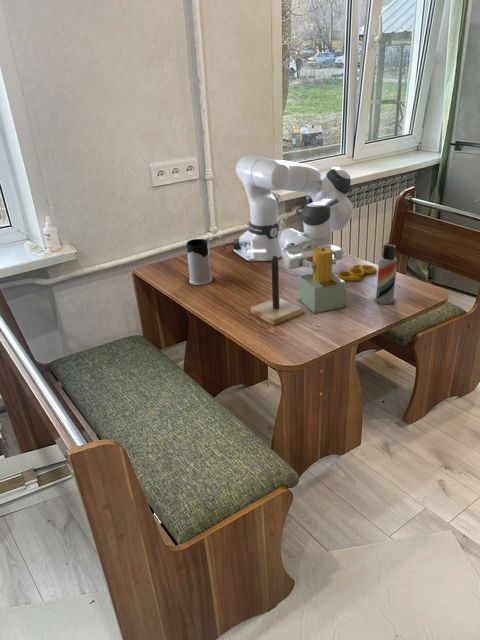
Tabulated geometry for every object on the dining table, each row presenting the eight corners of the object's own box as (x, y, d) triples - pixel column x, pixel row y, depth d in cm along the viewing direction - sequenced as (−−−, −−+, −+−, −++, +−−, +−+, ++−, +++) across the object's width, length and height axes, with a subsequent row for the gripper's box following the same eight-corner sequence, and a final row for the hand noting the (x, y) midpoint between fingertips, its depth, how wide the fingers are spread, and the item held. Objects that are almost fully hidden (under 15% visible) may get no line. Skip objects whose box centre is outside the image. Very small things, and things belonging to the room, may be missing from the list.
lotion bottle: (372, 299, 182) (377, 243, 171) (386, 295, 183) (391, 240, 173) (382, 305, 177) (387, 248, 167) (396, 302, 179) (402, 245, 169)
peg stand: (250, 312, 176) (247, 255, 166) (278, 302, 183) (276, 246, 172) (273, 325, 168) (271, 265, 158) (301, 313, 174) (301, 255, 164)
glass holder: (185, 283, 199) (180, 245, 192) (201, 269, 211) (198, 232, 203) (206, 286, 196) (202, 247, 189) (221, 271, 208) (218, 234, 200)
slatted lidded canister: (309, 277, 177) (310, 246, 172) (326, 274, 179) (327, 243, 174) (322, 287, 170) (322, 255, 165) (339, 283, 172) (340, 252, 166)
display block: (300, 300, 183) (300, 276, 178) (328, 294, 186) (329, 270, 182) (314, 313, 174) (314, 288, 170) (343, 306, 178) (345, 282, 173)
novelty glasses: (330, 275, 201) (347, 283, 193) (331, 271, 200) (347, 280, 193) (365, 265, 208) (382, 273, 200) (365, 262, 207) (382, 270, 199)
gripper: (331, 254, 188) (351, 267, 177) (278, 264, 182) (295, 278, 171) (332, 237, 185) (352, 249, 174) (278, 246, 179) (295, 260, 168)
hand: (323, 264), depth 172 cm, fingers closed on slatted lidded canister, 6 cm apart
